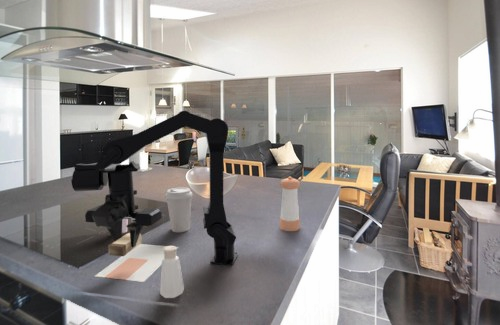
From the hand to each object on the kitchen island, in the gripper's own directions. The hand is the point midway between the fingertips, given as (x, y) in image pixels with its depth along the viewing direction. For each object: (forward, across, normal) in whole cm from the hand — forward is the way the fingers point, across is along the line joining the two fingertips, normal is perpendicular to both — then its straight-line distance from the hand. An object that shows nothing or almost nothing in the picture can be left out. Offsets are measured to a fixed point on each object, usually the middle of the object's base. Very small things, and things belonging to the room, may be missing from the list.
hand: (126, 246), depth 72 cm
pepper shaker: (+7, +16, -7) cm, 19 cm away
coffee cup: (+7, +2, +28) cm, 29 cm away
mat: (+7, +1, +4) cm, 8 cm away
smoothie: (+7, -18, +22) cm, 29 cm away
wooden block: (+1, 0, 0) cm, 1 cm away
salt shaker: (+7, +41, +37) cm, 56 cm away
